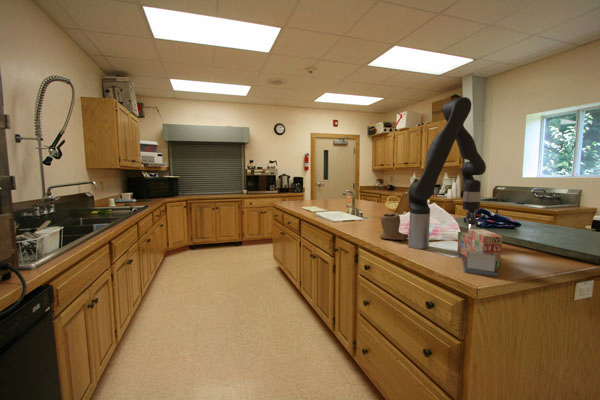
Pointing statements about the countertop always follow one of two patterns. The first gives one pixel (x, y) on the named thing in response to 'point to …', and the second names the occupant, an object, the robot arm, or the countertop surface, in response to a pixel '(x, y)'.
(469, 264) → the vise bed
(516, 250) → the countertop surface
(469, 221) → the sliding jaw
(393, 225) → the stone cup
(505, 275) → the countertop surface
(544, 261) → the countertop surface
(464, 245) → the stack of blocks
